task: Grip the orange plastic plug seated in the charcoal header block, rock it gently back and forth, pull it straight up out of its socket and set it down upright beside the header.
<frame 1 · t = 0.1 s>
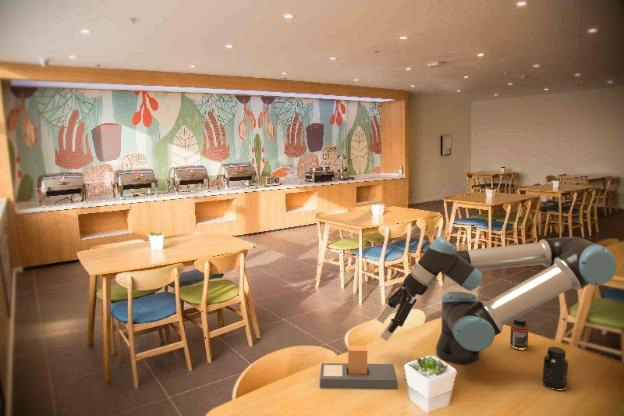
hand: (381, 329, 148), 15 cm above the table, tool tilted 35°, fingers open, 13 cm apart
supplement bottle 2: (518, 347, 166), on the table
plug: (357, 379, 144), point 1 cm above the table, touching header
header: (357, 382, 145), on the table
supplement bottle: (554, 386, 140), on the table
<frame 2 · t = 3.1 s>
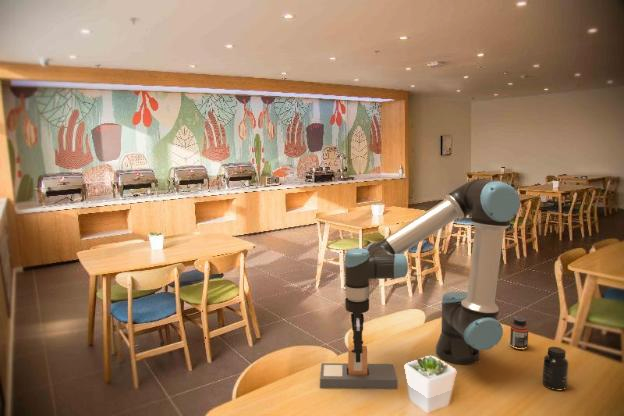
hand: (357, 366, 144), 6 cm above the table, tool pointing down, fingers closed on plug, 3 cm apart
plug: (357, 379, 144), point 1 cm above the table, touching gripper, header
everything else where it was.
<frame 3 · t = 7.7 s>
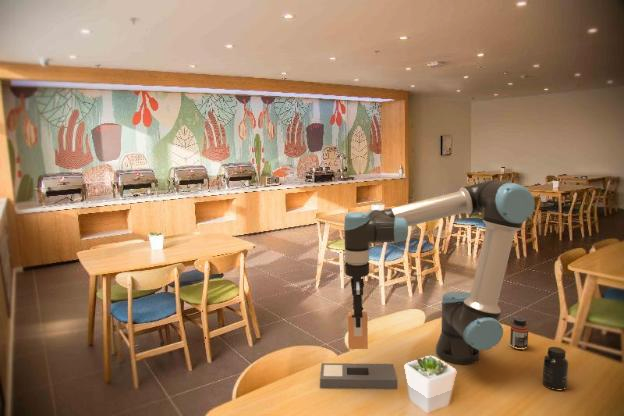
hand: (357, 332, 142), 17 cm above the table, tool pointing down, fingers closed on plug, 3 cm apart
plug: (357, 346, 143), point 13 cm above the table, touching gripper
everything else where it was.
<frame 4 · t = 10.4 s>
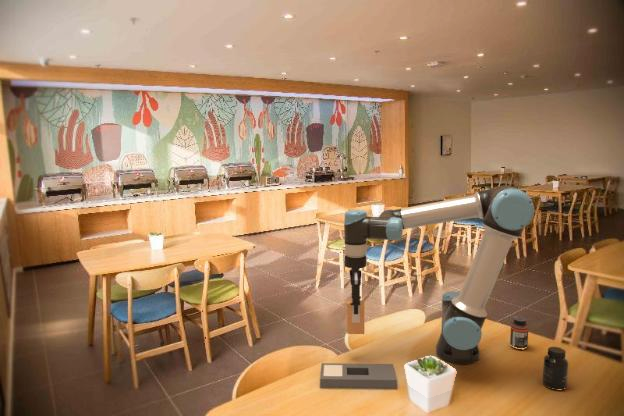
hand: (355, 319, 156), 16 cm above the table, tool pointing down, fingers closed on plug, 3 cm apart
plug: (355, 331, 157), point 11 cm above the table, touching gripper
everything else where it was.
when the fingers open (6 cm above the table, at t = 12.6 s): plug drops 2 cm, on the table.
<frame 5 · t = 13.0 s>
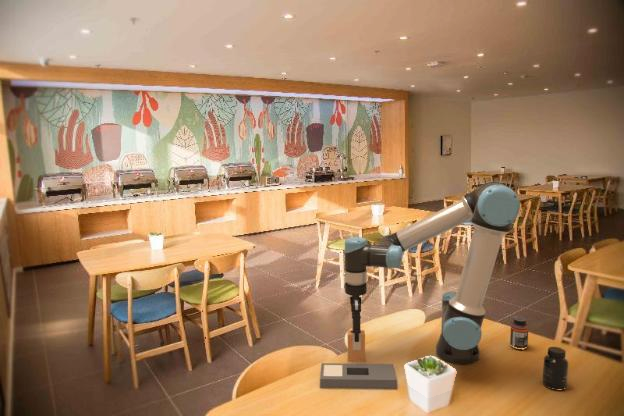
hand: (356, 342, 157), 7 cm above the table, tool pointing down, fingers open, 9 cm apart
plug: (356, 361, 158), on the table
everything else where it was.
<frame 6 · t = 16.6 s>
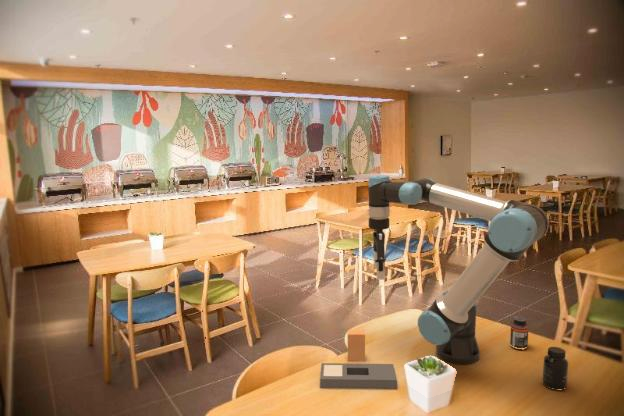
hand: (378, 273, 165), 29 cm above the table, tool pointing down, fingers open, 13 cm apart
nothing on the table moved.
at the end: plug inside the target area (0.0 cm from its centre), on the table; plug touching table; plug tilted 0° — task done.
